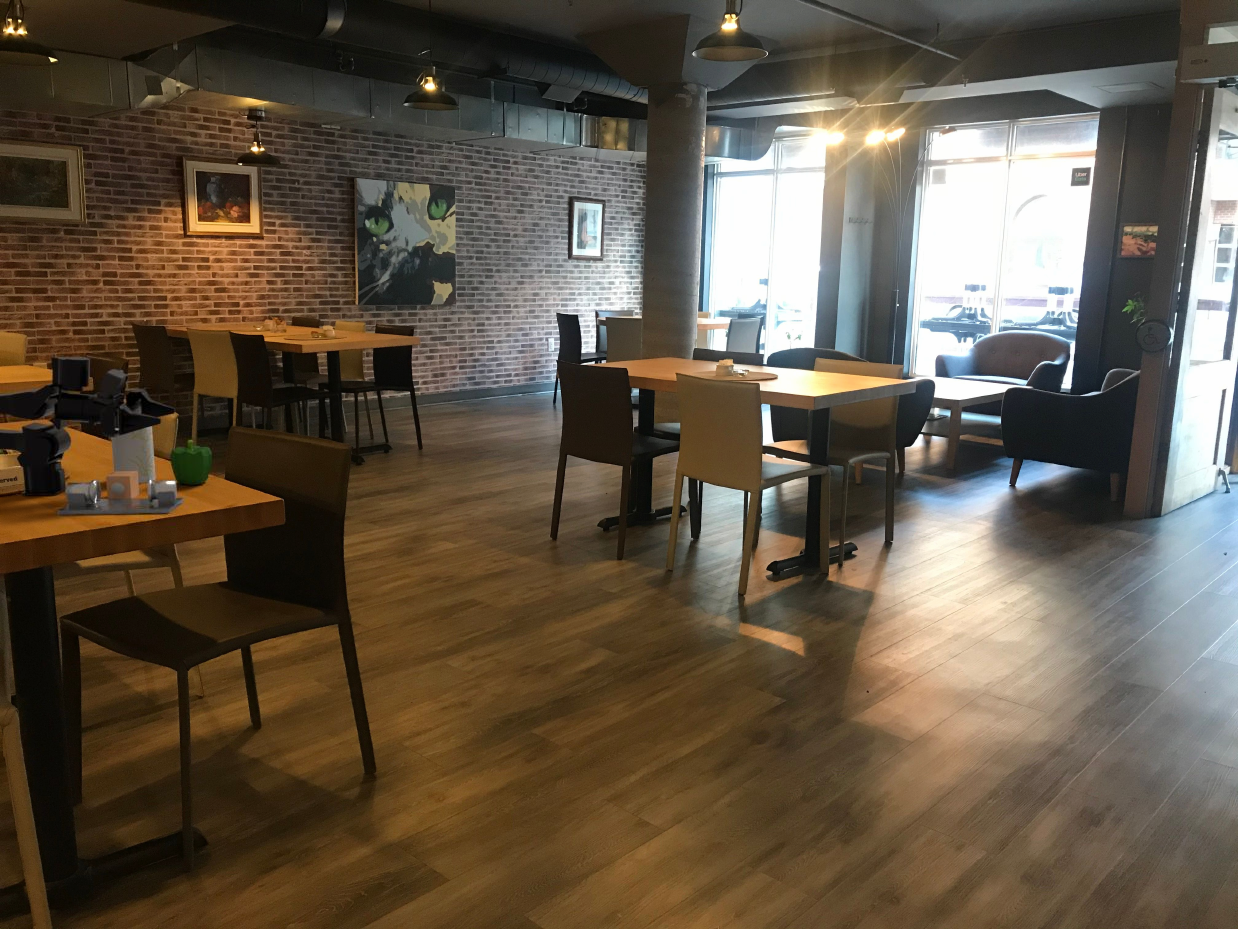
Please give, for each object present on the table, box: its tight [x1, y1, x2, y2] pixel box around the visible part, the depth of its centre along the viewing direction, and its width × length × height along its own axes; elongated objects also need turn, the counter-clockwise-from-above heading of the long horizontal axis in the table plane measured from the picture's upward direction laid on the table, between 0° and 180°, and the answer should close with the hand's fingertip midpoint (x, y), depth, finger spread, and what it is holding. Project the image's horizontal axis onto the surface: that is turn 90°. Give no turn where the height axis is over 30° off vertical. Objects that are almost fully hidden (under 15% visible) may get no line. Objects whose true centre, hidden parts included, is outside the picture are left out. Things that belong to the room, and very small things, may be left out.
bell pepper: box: [169, 439, 213, 486], centre depth 213 cm, size 8×8×10 cm
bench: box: [56, 479, 185, 516], centre depth 190 cm, size 20×10×6 cm, turn 99°
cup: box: [110, 426, 156, 484], centre depth 214 cm, size 8×8×12 cm
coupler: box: [105, 470, 140, 499], centre depth 199 cm, size 7×4×5 cm, turn 9°
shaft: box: [146, 479, 178, 506], centre depth 191 cm, size 5×5×5 cm
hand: (168, 415), depth 202 cm, fingers open, 9 cm apart
